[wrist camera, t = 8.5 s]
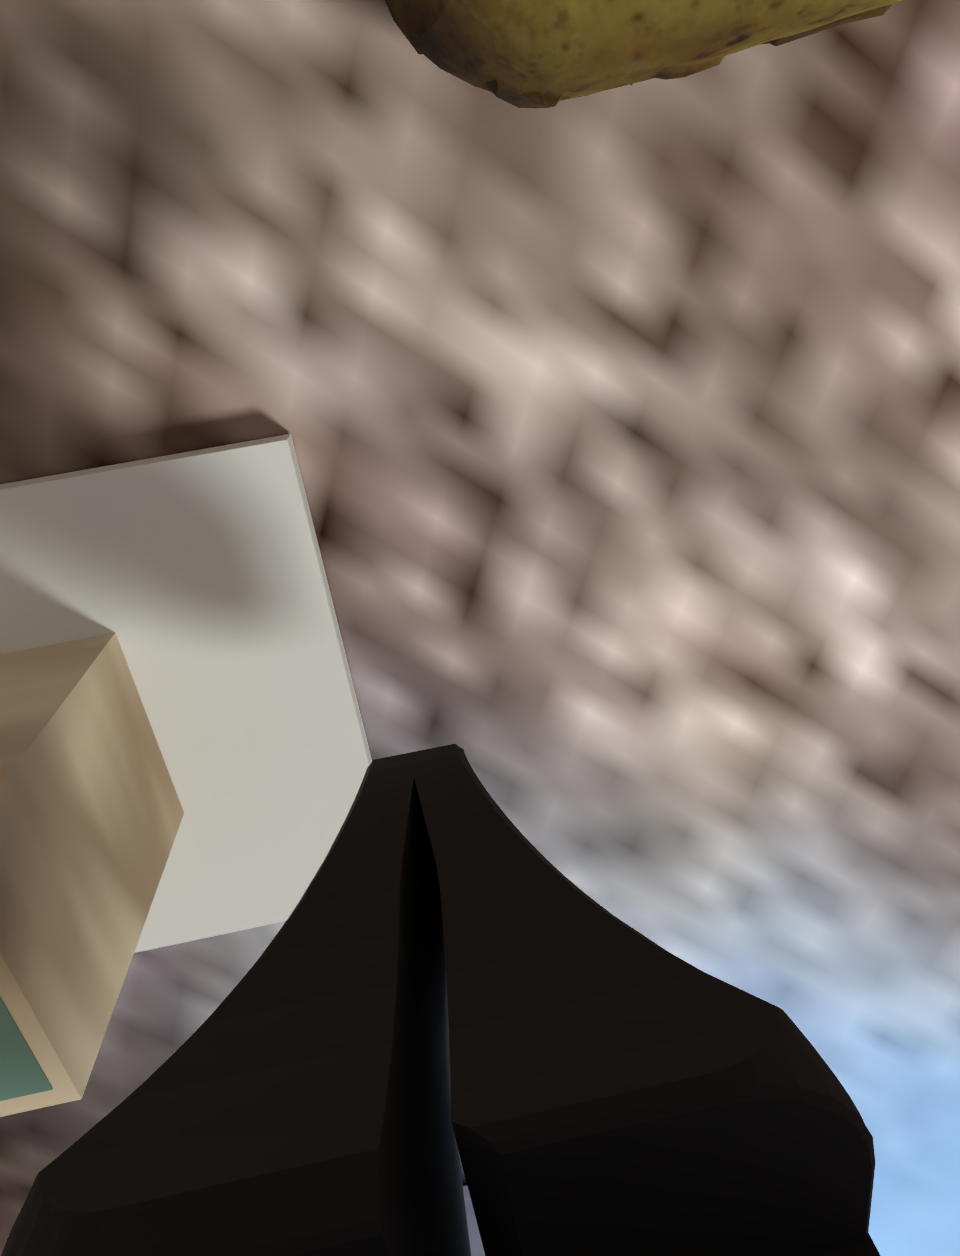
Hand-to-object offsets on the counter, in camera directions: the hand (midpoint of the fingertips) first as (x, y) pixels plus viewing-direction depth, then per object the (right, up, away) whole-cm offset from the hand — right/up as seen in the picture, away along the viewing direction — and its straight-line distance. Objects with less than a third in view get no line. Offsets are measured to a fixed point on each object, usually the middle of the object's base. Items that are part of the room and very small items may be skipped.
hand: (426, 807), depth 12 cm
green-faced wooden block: (-7, +1, +3) cm, 7 cm away
